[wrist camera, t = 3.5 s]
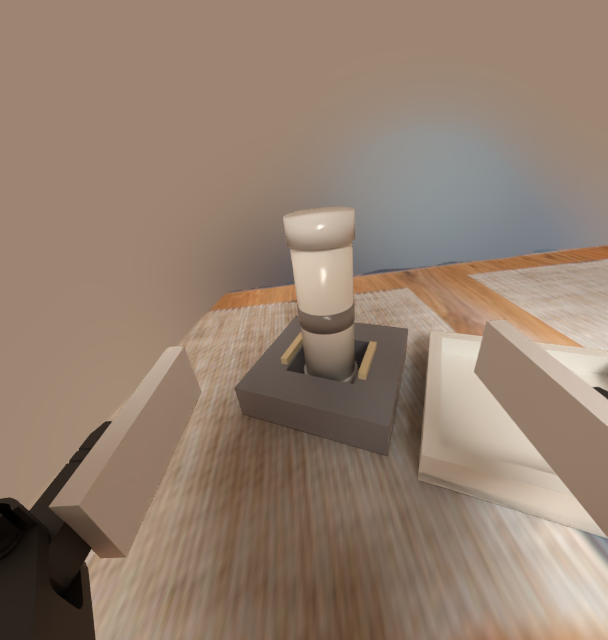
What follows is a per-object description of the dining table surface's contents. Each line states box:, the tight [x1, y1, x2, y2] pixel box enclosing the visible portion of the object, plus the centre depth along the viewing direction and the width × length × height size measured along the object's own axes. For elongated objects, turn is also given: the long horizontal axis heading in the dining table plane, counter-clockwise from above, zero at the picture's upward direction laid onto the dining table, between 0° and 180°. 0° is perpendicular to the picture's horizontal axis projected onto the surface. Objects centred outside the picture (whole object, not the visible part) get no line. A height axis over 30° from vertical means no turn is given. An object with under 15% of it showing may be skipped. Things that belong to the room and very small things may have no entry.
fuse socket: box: [235, 316, 408, 456], centre depth 25 cm, size 12×12×4 cm
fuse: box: [283, 207, 357, 384], centre depth 22 cm, size 5×5×15 cm
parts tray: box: [418, 330, 608, 539], centre depth 20 cm, size 14×14×2 cm
